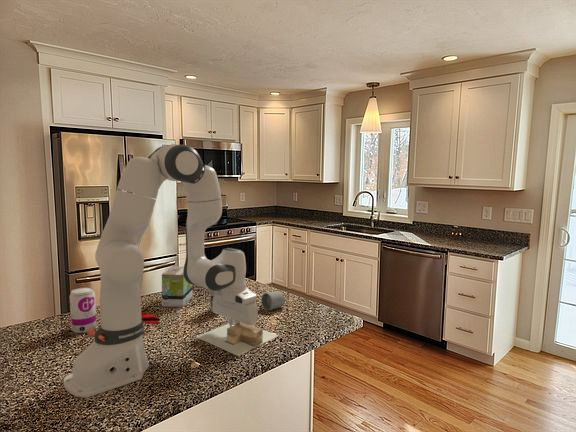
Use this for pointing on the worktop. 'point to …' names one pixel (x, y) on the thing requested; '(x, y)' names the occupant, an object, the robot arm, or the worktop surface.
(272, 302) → the ceramic mug
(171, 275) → the tea box
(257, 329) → the maple T block
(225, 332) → the sage board
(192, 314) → the worktop surface
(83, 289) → the supplement can
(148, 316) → the cloth
